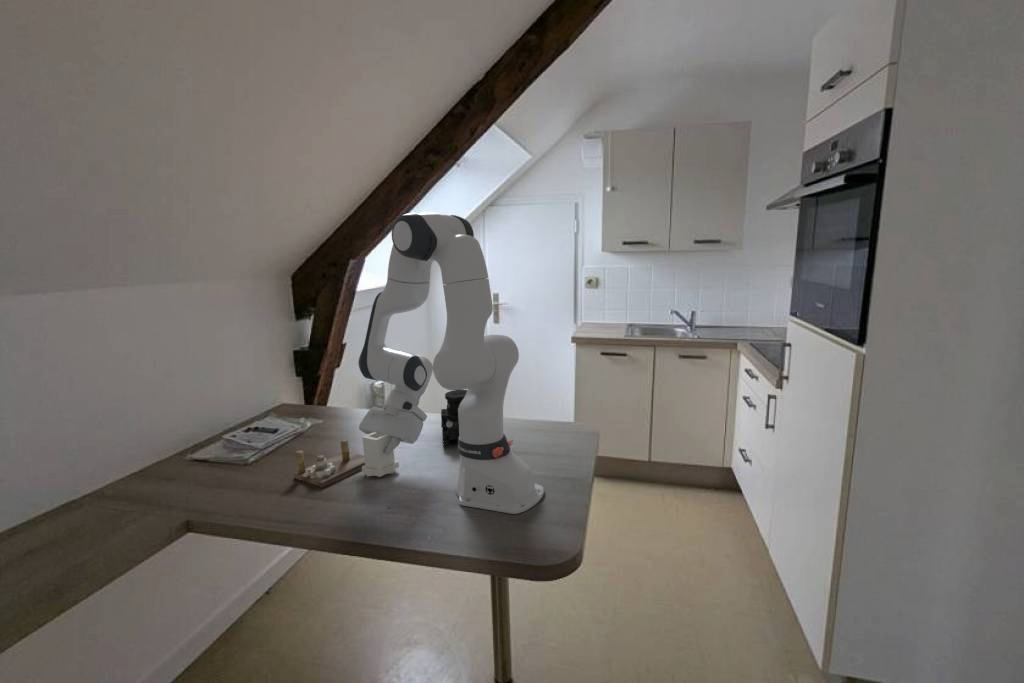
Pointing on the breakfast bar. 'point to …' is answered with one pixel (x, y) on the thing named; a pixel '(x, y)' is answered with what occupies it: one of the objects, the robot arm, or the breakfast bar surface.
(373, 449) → the white square socket
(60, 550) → the breakfast bar surface
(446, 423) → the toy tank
